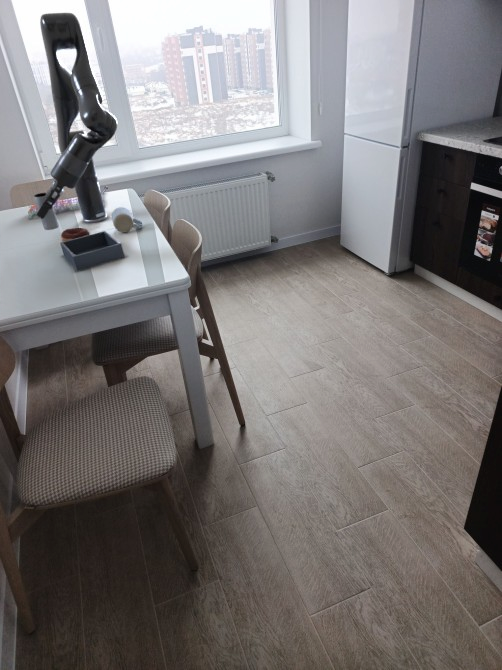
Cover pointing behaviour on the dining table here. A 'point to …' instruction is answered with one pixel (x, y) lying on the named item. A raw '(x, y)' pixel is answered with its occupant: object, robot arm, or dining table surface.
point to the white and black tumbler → (50, 218)
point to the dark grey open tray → (92, 250)
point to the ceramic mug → (124, 220)
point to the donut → (74, 233)
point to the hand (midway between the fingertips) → (40, 214)
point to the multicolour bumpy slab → (57, 206)
